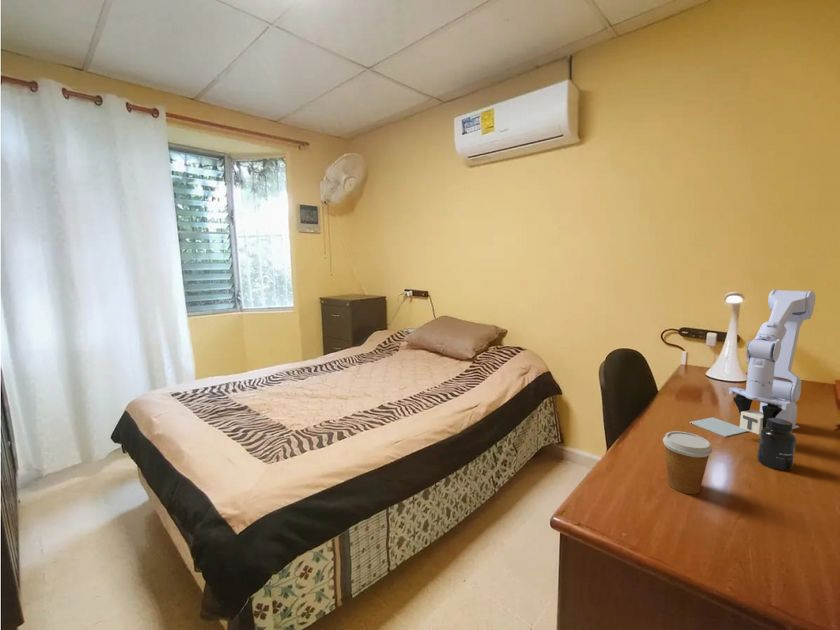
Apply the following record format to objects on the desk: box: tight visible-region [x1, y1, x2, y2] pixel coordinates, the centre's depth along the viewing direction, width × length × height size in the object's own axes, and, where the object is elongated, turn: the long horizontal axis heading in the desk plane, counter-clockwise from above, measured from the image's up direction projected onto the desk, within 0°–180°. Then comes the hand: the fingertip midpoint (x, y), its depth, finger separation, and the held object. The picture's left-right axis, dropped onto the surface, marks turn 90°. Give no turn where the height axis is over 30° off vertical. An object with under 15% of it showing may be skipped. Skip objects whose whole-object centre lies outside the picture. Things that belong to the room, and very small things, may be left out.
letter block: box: [738, 409, 763, 435], centre depth 111 cm, size 5×5×5 cm
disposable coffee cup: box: [662, 430, 713, 495], centre depth 89 cm, size 10×10×12 cm
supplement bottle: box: [756, 418, 797, 471], centre depth 98 cm, size 7×7×12 cm
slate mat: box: [688, 416, 750, 438], centre depth 121 cm, size 11×11×1 cm
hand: (755, 424), depth 111 cm, fingers closed on letter block, 5 cm apart
